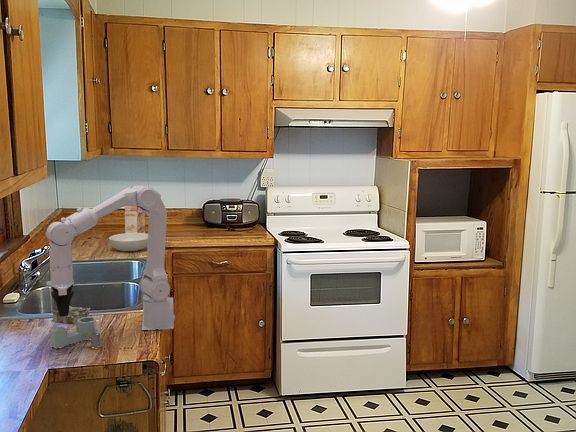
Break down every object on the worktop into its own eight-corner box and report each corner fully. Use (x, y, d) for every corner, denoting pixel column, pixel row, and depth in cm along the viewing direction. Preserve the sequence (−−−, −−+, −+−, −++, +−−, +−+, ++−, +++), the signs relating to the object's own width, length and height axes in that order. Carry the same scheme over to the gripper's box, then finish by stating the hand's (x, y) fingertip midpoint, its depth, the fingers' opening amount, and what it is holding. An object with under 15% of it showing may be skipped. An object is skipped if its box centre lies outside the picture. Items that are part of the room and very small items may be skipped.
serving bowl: (109, 246, 279) (108, 233, 278) (151, 244, 286) (150, 231, 285) (109, 255, 260) (108, 241, 259) (154, 253, 266) (153, 239, 265)
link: (91, 332, 162) (90, 315, 161) (101, 337, 158) (100, 319, 157) (48, 345, 152) (47, 327, 151) (58, 350, 148) (57, 332, 147)
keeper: (84, 345, 152) (83, 332, 151) (100, 347, 151) (99, 333, 150) (81, 347, 150) (80, 334, 150) (97, 349, 150) (96, 335, 149)
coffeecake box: (138, 242, 291) (137, 206, 288) (124, 241, 292) (123, 205, 288) (145, 236, 306) (145, 202, 303) (133, 236, 306) (132, 202, 303)
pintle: (101, 339, 157) (100, 318, 156) (101, 341, 155) (100, 321, 154) (95, 339, 156) (94, 319, 155) (94, 342, 155) (93, 321, 154)
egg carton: (49, 322, 170) (48, 310, 170) (64, 314, 178) (64, 302, 177) (78, 325, 168) (77, 313, 167) (93, 318, 175) (92, 305, 174)
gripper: (45, 260, 154) (48, 306, 156) (45, 273, 140) (47, 323, 143) (72, 258, 156) (74, 304, 159) (74, 271, 143) (76, 320, 145)
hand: (63, 313), depth 151 cm, fingers open, 5 cm apart
